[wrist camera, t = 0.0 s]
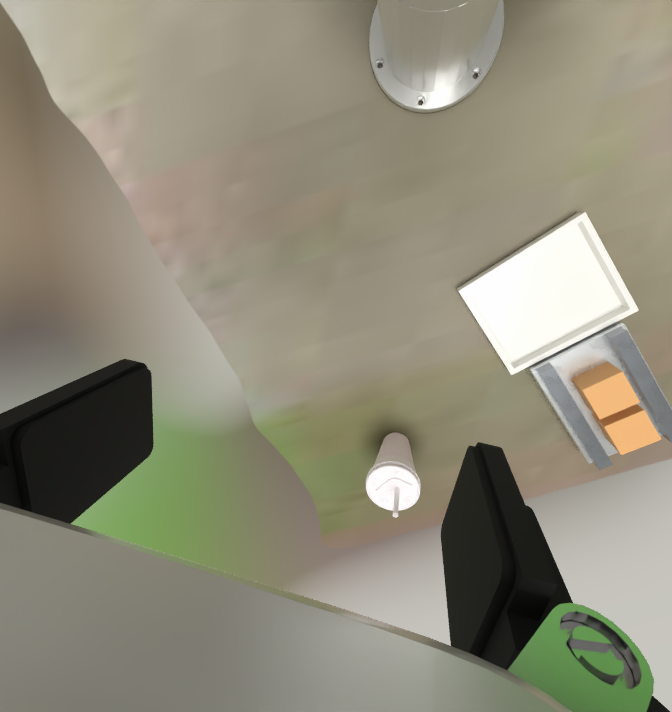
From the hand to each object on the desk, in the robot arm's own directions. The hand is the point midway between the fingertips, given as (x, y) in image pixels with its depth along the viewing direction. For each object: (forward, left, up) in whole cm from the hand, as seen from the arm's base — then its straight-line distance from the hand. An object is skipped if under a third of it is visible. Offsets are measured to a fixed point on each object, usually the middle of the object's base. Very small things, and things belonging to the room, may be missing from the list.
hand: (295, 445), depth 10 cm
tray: (-1, +18, -37) cm, 41 cm away
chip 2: (+10, +29, -34) cm, 46 cm away
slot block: (+8, +27, -37) cm, 46 cm away
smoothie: (+22, +6, -37) cm, 44 cm away
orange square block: (+7, +26, -34) cm, 43 cm away
